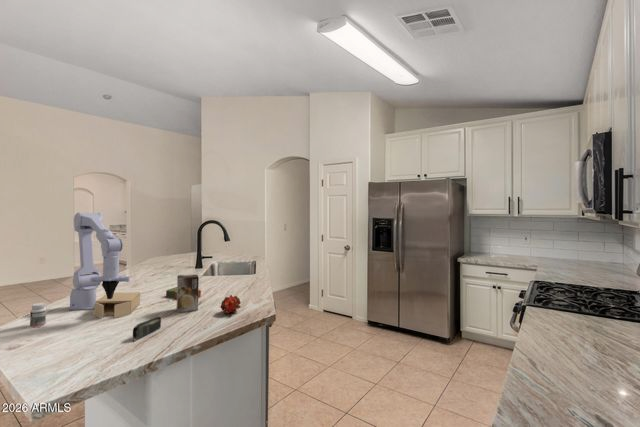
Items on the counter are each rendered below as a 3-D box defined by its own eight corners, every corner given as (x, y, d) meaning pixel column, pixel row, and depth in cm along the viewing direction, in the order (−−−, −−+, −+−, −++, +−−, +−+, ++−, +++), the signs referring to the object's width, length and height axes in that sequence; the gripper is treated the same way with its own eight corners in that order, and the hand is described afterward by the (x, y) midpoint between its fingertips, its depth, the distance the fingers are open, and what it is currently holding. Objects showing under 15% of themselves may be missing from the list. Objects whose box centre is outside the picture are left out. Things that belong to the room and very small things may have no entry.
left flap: (94, 315, 140) (94, 302, 140) (95, 314, 140) (95, 302, 140) (102, 318, 137) (102, 305, 137) (103, 317, 137) (103, 305, 137)
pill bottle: (32, 323, 128) (33, 302, 128) (47, 322, 130) (48, 301, 130) (27, 327, 124) (28, 306, 124) (43, 326, 126) (43, 305, 126)
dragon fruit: (239, 311, 159) (224, 323, 147) (226, 300, 160) (211, 310, 149) (247, 299, 156) (233, 310, 145) (234, 288, 157) (220, 298, 146)
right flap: (114, 317, 138) (115, 305, 138) (114, 317, 138) (114, 305, 138) (130, 313, 144) (130, 301, 143) (129, 313, 144) (130, 301, 144)
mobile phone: (156, 315, 131) (128, 327, 116) (162, 316, 131) (136, 328, 116) (155, 327, 131) (128, 341, 116) (162, 328, 131) (135, 342, 116)
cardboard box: (95, 315, 141) (95, 301, 141) (107, 305, 154) (108, 292, 154) (130, 313, 144) (131, 300, 144) (139, 304, 158) (140, 292, 158)
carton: (190, 301, 168) (190, 293, 168) (165, 297, 172) (165, 289, 172) (200, 297, 176) (201, 289, 175) (176, 293, 180) (177, 286, 180)
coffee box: (196, 306, 159) (197, 274, 159) (198, 310, 153) (199, 276, 153) (176, 308, 155) (177, 275, 154) (177, 312, 149) (178, 277, 149)
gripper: (87, 268, 132) (86, 301, 132) (126, 268, 136) (125, 300, 136) (94, 265, 139) (93, 296, 139) (132, 265, 143) (131, 296, 143)
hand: (109, 298), depth 138 cm, fingers closed
